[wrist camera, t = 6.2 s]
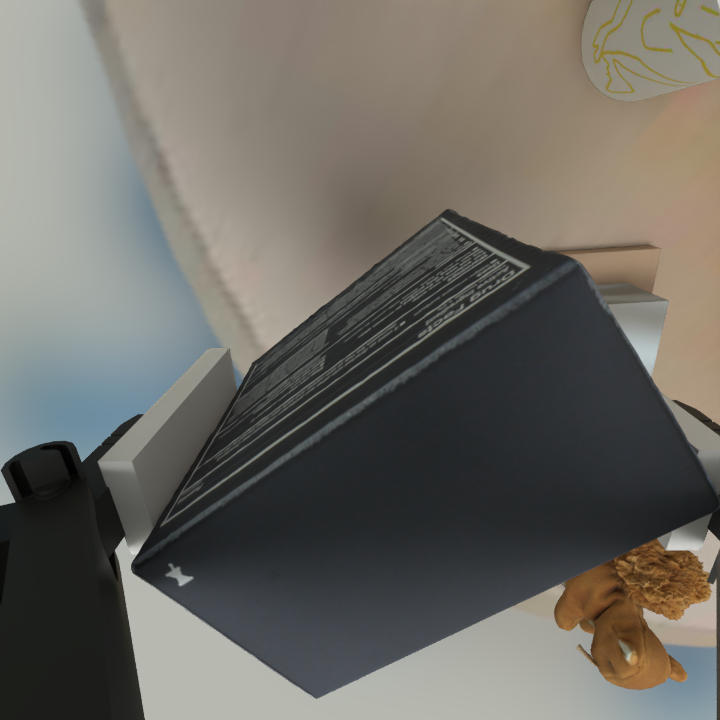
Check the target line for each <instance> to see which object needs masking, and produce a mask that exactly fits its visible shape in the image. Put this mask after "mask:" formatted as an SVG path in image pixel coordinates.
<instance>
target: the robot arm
mask: <svg viewBox="0 0 720 720" xmlns="http://www.w3.org/2000/svg"><path fill="white" fill-rule="evenodd" d="M236 393H237V387H236V382H235V377H234V371H233V365H232V360H231V354H230V349H229V348H215V349H208V350H207V351H206V352H205V353H204V354H203V355H202V356H201V357H200V358H199V359H198V360H197V361H196V362H195V363H194V364H193V365H192V366H191V367H190V368H189V369H188V370H187V371H186V372H185V373H184V374H183V375H182V376H181V377H180V379H178V380H177V381H176V382H175V384H174V385H173V386H172V387H171V388H170V389H169V390H168V391H167V392H166V393H165V394H164V395H163V396H162V397H161V398H160V399H159V400H158V401H157V402H156V403H155V404H154V405H153V406H152V407H151V408H150V409H149V410H148V411H147V412H146V413H145V414H138V415H136V416H135V417H133V418H131V419H129V420H128V421H126V422H124V423H123V424H121V425H120V426H119V427H118V428H117V429H116V430H115V431H114V432H113V433H112V434H111V437H108V438H107V439H106V440H105V441H104V442H103V443H102V446H98V447H97V449H95V450H94V451H93V452H92V453H91V454H90V455H89V456H88V457H87V458H86V459H85V460H84V461H83V462H81V460H80V457H79V455H78V452H77V449H76V447H75V446H74V444H73V443H71V442H67V441H53V442H49V443H44V444H40V445H38V446H35V447H32V448H30V449H27V450H25V451H23V452H21V453H19V454H17V455H15V456H14V457H13V458H11V459H10V460H9V461H8V462H6V463H5V464H4V466H3V468H2V469H1V472H2V474H3V476H4V478H5V480H6V483H7V485H8V487H9V489H10V491H11V493H12V495H13V497H14V499H15V503H11V504H7V505H2V506H0V720H145V718H144V712H143V706H142V700H141V693H140V688H139V681H138V676H137V669H136V663H135V657H134V652H133V645H132V638H131V632H130V627H129V620H128V615H127V608H126V603H125V596H124V590H123V584H122V578H121V571H120V565H119V561H118V558H117V555H116V553H115V549H116V548H117V546H118V545H119V543H120V542H121V540H122V539H123V538H124V536H125V539H126V542H127V545H128V547H129V550H130V553H131V554H138V553H139V551H140V549H141V547H142V545H143V544H144V542H145V541H146V540H147V538H148V536H149V535H150V533H151V531H152V530H153V528H154V527H155V525H156V523H157V521H158V519H159V517H160V516H161V514H162V513H163V511H164V509H165V508H166V506H167V505H168V504H169V502H170V501H171V499H172V497H173V495H174V493H175V491H176V490H177V489H178V487H179V485H180V484H181V482H182V481H183V479H184V477H185V475H186V474H187V472H188V471H189V470H190V467H191V465H192V464H193V463H194V461H195V459H196V458H197V456H198V454H199V452H200V451H201V450H202V448H203V446H204V445H205V443H206V441H207V439H208V438H209V436H210V435H211V434H212V433H213V431H214V430H215V429H216V427H217V425H218V423H219V422H220V420H221V418H222V416H223V415H224V413H225V411H226V410H227V408H228V407H229V405H230V402H231V401H232V400H233V398H234V396H235V395H236ZM660 393H661V392H660ZM661 395H662V396H663V398H664V400H665V402H666V403H667V404H668V406H669V407H670V409H671V411H672V412H673V414H674V416H675V418H676V420H677V422H678V423H679V425H680V427H681V428H682V430H683V432H684V433H685V435H686V438H687V440H688V441H689V443H690V444H691V446H692V447H693V449H694V451H695V452H696V454H697V456H698V458H699V459H700V461H701V463H702V464H703V466H704V468H705V469H706V471H707V473H708V475H709V477H710V479H711V481H712V483H713V485H714V487H715V489H716V491H717V493H718V495H719V497H720V426H719V425H718V424H717V423H715V422H712V420H711V419H710V418H708V417H707V416H705V415H704V414H703V413H701V412H700V411H698V410H697V409H695V408H693V407H690V406H688V405H686V404H684V403H681V402H679V401H677V400H671V399H669V398H668V397H667V396H665V395H664V394H663V393H661ZM708 529H709V530H710V531H711V532H712V533H713V534H714V535H715V536H716V537H717V538H718V539H719V540H720V508H719V509H718V510H717V511H716V512H713V513H711V514H709V515H707V516H704V517H702V518H700V519H698V520H695V521H693V522H691V523H689V524H687V525H684V526H682V527H680V528H678V529H676V530H674V531H672V532H670V533H667V534H665V535H663V536H661V537H659V538H657V540H658V541H659V542H660V543H661V545H662V546H663V547H664V548H665V550H701V548H702V545H703V543H704V540H705V537H706V535H707V532H708ZM716 578H717V720H720V550H719V552H718V555H717V557H716V560H715V562H714V565H713V567H712V570H711V572H710V575H709V577H708V580H707V582H709V583H711V584H713V583H714V581H715V580H716Z"/></svg>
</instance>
